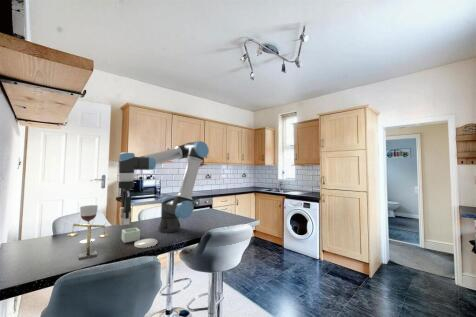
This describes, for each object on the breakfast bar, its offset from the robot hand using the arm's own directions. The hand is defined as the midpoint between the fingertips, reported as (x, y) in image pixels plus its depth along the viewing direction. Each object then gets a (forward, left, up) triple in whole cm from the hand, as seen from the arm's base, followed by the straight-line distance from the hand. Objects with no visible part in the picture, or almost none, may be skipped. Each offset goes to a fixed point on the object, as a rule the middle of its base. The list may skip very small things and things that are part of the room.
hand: (125, 223), depth 116 cm
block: (0, 0, 0) cm, 0 cm away
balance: (+16, +3, -13) cm, 21 cm away
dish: (-11, +2, -13) cm, 17 cm away
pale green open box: (-5, -12, -13) cm, 18 cm away
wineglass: (+15, -24, -13) cm, 31 cm away
